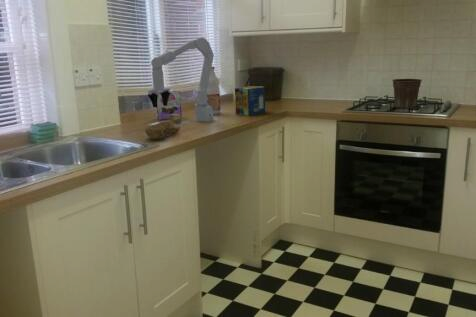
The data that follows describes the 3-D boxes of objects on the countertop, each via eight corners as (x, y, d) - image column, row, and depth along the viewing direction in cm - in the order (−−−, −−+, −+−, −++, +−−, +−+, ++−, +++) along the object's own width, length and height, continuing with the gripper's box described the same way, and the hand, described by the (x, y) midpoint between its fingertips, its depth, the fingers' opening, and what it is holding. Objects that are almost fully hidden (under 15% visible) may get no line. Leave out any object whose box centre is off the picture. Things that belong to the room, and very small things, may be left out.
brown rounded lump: (164, 135, 217) (134, 134, 200) (167, 119, 216) (137, 117, 199) (184, 142, 211) (155, 142, 194) (188, 126, 209) (158, 124, 192)
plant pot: (424, 108, 256) (426, 80, 252) (396, 109, 256) (397, 81, 252) (414, 105, 272) (415, 78, 268) (387, 106, 272) (388, 79, 268)
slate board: (191, 123, 241) (191, 121, 241) (168, 128, 226) (168, 127, 226) (168, 121, 250) (168, 120, 249) (145, 126, 235) (145, 125, 235)
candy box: (157, 121, 253) (155, 91, 249) (156, 119, 258) (154, 90, 254) (182, 119, 256) (179, 90, 252) (180, 117, 262) (178, 89, 258)
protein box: (235, 114, 264) (234, 88, 261) (253, 111, 275) (252, 85, 271) (248, 116, 257) (247, 88, 253) (266, 112, 268) (265, 86, 264)
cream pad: (164, 123, 238) (164, 122, 238) (156, 125, 233) (156, 124, 233) (156, 122, 241) (156, 122, 241) (148, 124, 236) (148, 124, 236)
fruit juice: (202, 113, 273) (199, 67, 266) (215, 112, 278) (213, 66, 271) (210, 115, 265) (207, 67, 258) (223, 113, 270) (221, 66, 263)
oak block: (181, 122, 240) (180, 113, 239) (175, 123, 236) (175, 115, 235) (174, 121, 242) (174, 113, 241) (169, 123, 239) (168, 114, 237)
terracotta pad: (174, 121, 244) (174, 120, 244) (167, 122, 240) (167, 122, 240) (166, 120, 248) (166, 120, 248) (158, 122, 243) (158, 121, 243)
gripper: (162, 79, 243) (164, 104, 247) (142, 81, 232) (145, 108, 235) (171, 79, 239) (173, 105, 243) (152, 82, 228) (154, 108, 231)
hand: (160, 106), depth 239 cm, fingers open, 7 cm apart
